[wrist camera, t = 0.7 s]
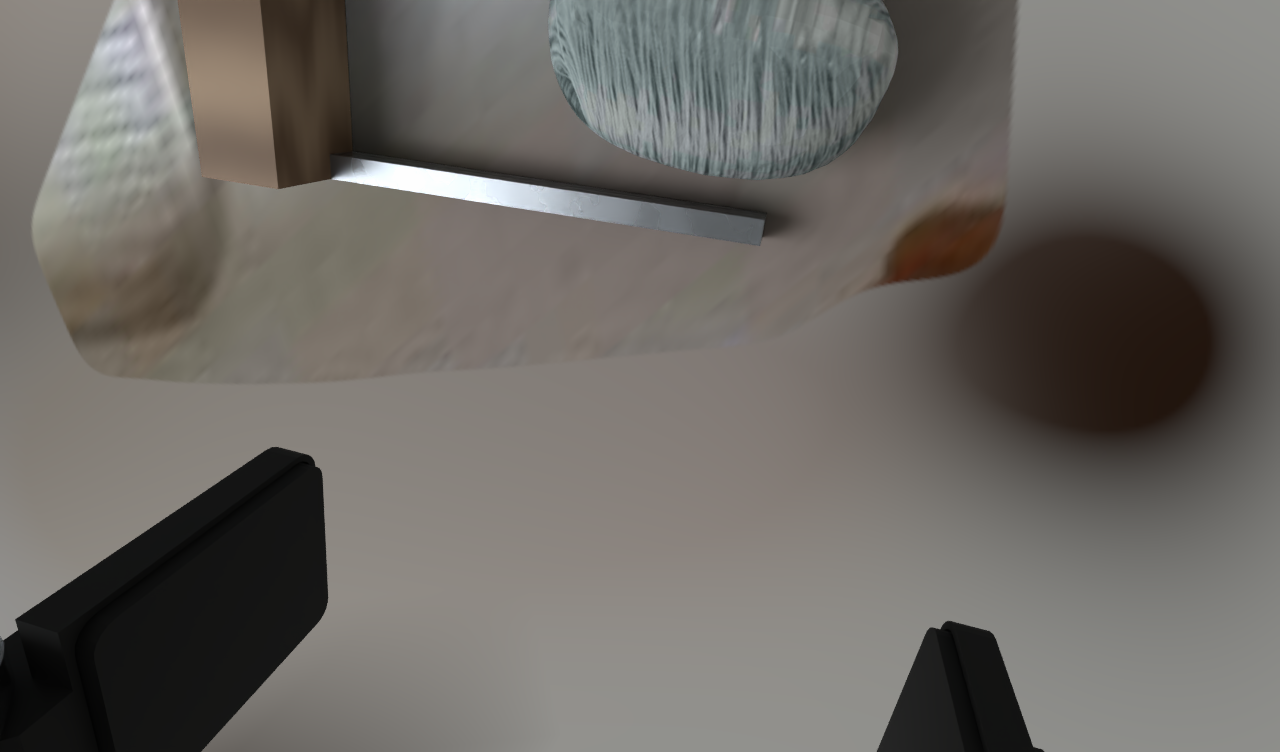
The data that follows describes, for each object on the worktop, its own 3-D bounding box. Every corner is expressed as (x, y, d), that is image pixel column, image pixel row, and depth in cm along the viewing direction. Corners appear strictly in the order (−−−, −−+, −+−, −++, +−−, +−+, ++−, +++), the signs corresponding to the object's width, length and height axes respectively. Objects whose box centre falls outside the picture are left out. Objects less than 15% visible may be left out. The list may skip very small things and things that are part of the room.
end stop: (256, -183, 32) (144, -238, 27) (335, -178, 31) (237, -233, 26) (287, 164, 38) (202, 176, 33) (354, 174, 38) (278, 189, 32)
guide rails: (335, -178, 31) (306, -194, 30) (831, -143, 28) (833, -158, 26) (354, 174, 38) (331, 178, 36) (762, 237, 34) (759, 245, 32)
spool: (523, 161, 32) (517, 63, 22) (573, -35, 32) (590, -218, 23) (799, 242, 34) (908, 184, 24) (843, 55, 34) (968, -76, 25)
